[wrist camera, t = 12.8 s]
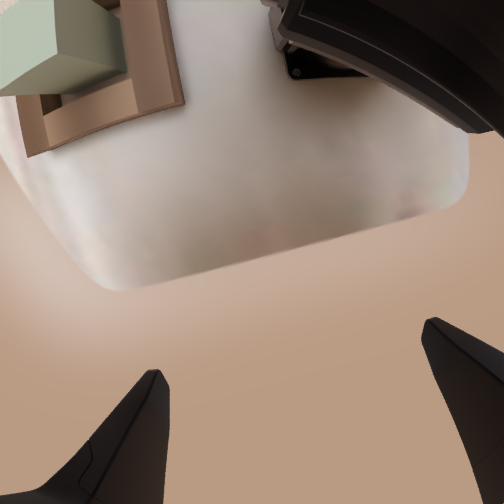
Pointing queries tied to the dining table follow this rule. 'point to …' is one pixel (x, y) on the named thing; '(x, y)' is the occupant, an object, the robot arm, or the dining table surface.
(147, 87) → the socket block
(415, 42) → the robot arm
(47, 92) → the peg
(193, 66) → the dining table surface
